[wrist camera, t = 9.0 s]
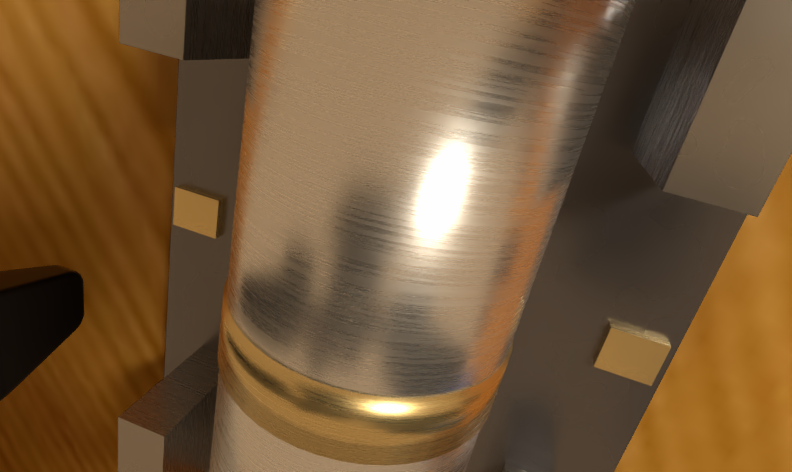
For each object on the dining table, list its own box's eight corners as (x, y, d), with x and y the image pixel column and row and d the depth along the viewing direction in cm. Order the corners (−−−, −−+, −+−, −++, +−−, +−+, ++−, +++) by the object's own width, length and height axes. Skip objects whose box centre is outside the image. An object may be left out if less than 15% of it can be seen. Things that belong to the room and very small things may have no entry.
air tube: (668, -115, 8) (792, -334, 4) (429, 555, 14) (362, 791, 10) (371, -162, 9) (172, -376, 5) (268, 480, 15) (138, 661, 11)
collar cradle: (889, -95, 8) (1117, -193, 5) (540, 594, 15) (536, 750, 11) (211, -207, 10) (50, -329, 7) (173, 439, 17) (81, 533, 13)
